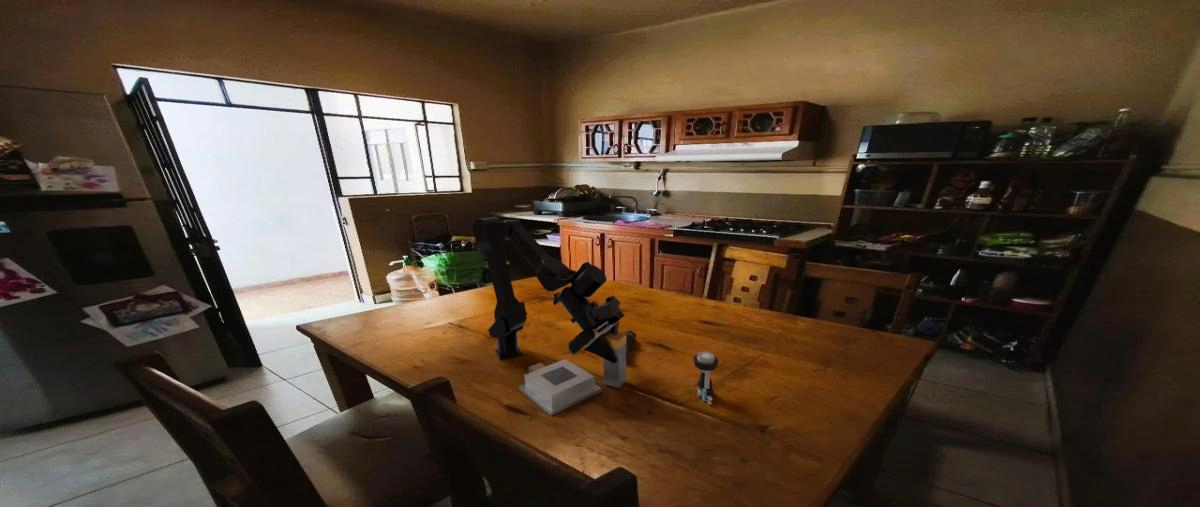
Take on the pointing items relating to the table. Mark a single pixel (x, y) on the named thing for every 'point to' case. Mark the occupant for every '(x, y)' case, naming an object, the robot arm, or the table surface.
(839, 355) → the table surface
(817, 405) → the table surface
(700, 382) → the push button
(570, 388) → the grey socket base
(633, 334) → the bolt
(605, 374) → the grey square peg
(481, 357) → the table surface
